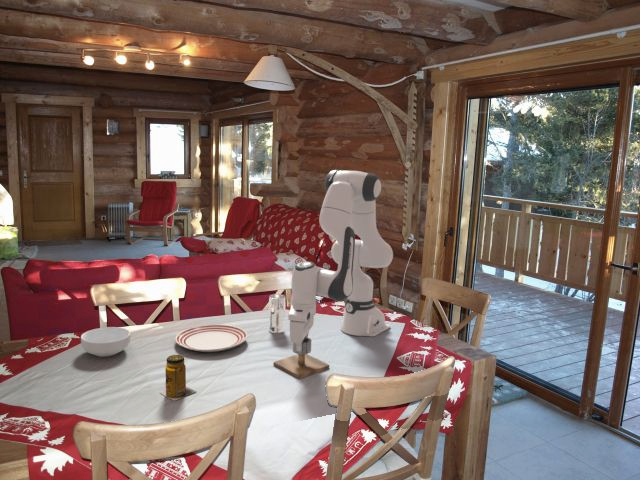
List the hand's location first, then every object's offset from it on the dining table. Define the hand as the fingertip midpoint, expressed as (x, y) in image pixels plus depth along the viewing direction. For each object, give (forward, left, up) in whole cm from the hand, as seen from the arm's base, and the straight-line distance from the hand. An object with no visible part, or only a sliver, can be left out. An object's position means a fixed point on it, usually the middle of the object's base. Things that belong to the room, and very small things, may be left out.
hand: (302, 346), depth 190 cm
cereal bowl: (+48, -53, -8) cm, 72 cm away
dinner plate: (+13, -38, -8) cm, 41 cm away
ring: (0, 0, -2) cm, 2 cm away
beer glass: (-15, -33, -8) cm, 37 cm away
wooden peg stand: (0, 0, -8) cm, 8 cm away
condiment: (+43, -9, -8) cm, 45 cm away
